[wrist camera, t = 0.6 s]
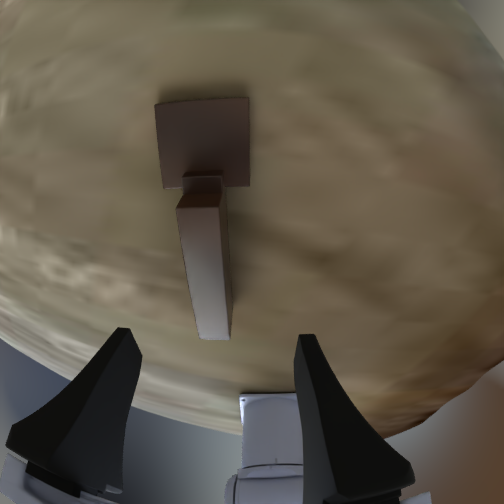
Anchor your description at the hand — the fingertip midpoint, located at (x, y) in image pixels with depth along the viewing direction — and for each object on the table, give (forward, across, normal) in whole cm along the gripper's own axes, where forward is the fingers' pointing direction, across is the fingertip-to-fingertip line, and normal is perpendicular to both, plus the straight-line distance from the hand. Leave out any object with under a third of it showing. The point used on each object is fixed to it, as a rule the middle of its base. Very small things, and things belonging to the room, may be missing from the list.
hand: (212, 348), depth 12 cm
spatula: (+8, +1, -1) cm, 9 cm away
